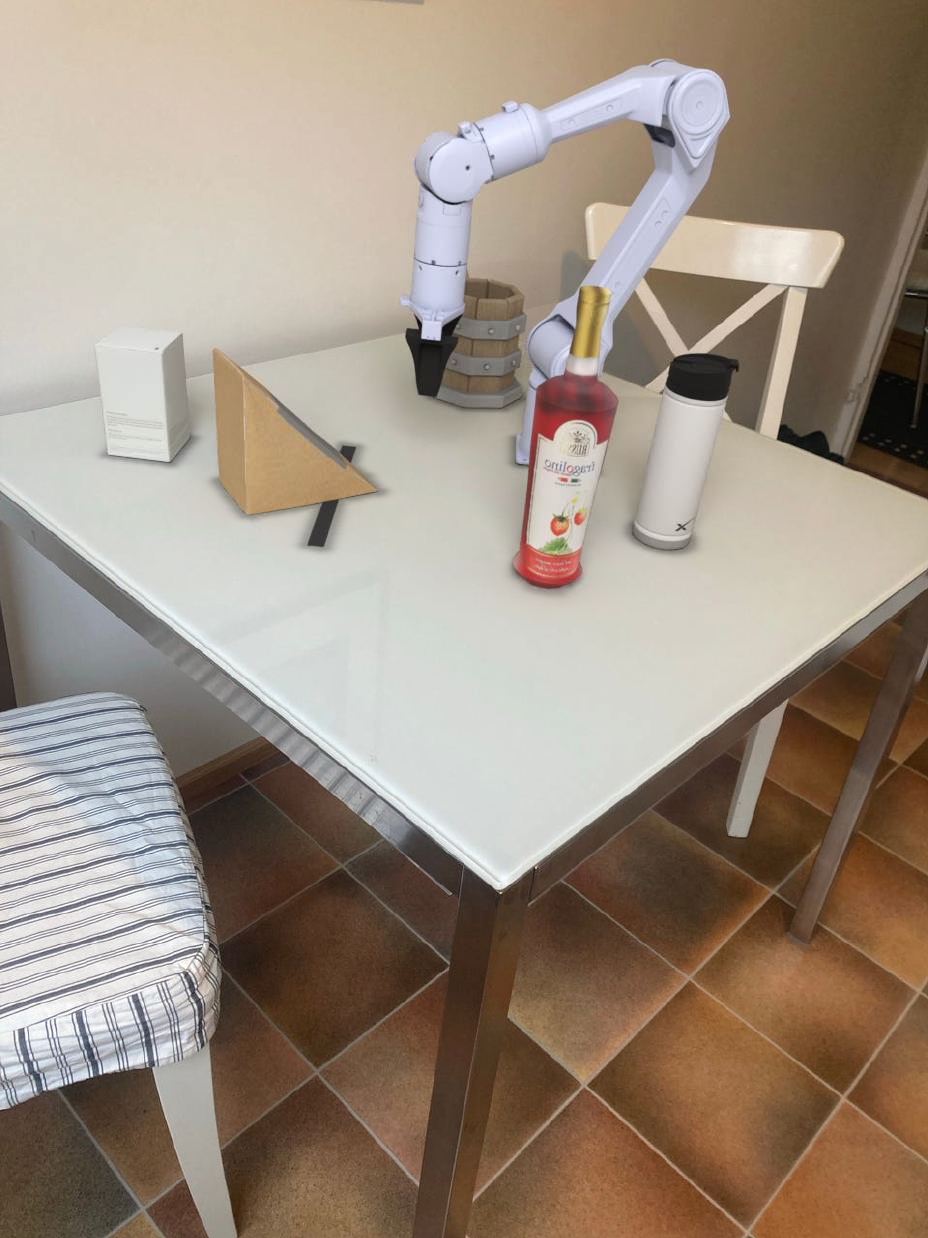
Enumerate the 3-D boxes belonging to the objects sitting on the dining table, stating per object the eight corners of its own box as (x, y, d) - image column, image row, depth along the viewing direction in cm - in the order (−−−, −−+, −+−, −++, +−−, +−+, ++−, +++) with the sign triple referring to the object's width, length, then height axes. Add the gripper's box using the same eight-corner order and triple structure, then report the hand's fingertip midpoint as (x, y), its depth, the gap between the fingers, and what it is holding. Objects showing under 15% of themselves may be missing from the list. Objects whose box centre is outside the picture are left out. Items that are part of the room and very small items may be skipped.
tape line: (355, 447, 118) (355, 446, 118) (323, 547, 98) (323, 546, 98) (342, 445, 118) (342, 445, 118) (307, 545, 98) (307, 544, 98)
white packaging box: (192, 437, 115) (185, 331, 108) (169, 464, 109) (161, 353, 102) (130, 429, 116) (120, 322, 108) (104, 455, 109) (91, 343, 102)
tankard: (528, 409, 133) (544, 297, 125) (437, 408, 130) (447, 293, 122) (492, 356, 149) (504, 254, 141) (410, 355, 146) (417, 250, 138)
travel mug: (692, 556, 104) (741, 373, 93) (630, 544, 105) (671, 361, 93) (692, 529, 109) (739, 352, 98) (633, 517, 110) (673, 341, 99)
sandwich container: (380, 492, 109) (387, 359, 100) (247, 516, 101) (243, 376, 93) (346, 460, 114) (350, 332, 106) (218, 480, 107) (211, 345, 99)
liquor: (578, 560, 101) (633, 282, 85) (585, 599, 95) (645, 307, 79) (507, 554, 100) (548, 273, 85) (510, 593, 94) (555, 298, 79)
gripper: (409, 238, 110) (401, 356, 118) (395, 273, 98) (388, 402, 106) (471, 245, 110) (459, 363, 118) (466, 281, 98) (453, 409, 106)
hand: (430, 382), depth 112 cm, fingers open, 7 cm apart
